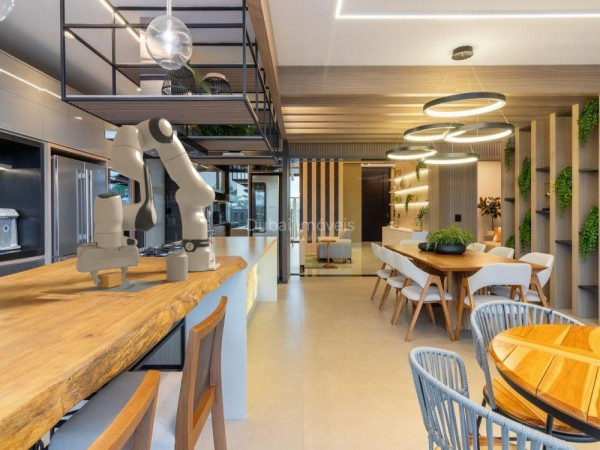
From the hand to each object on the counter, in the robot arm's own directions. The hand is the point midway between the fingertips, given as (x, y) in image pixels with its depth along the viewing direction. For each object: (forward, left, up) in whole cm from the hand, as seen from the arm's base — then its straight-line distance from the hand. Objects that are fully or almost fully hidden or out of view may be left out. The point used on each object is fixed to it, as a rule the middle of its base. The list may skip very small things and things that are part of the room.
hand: (109, 282), depth 131 cm
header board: (-3, +4, -3) cm, 6 cm away
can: (-16, +16, -3) cm, 23 cm away
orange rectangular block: (0, 0, -1) cm, 1 cm away
